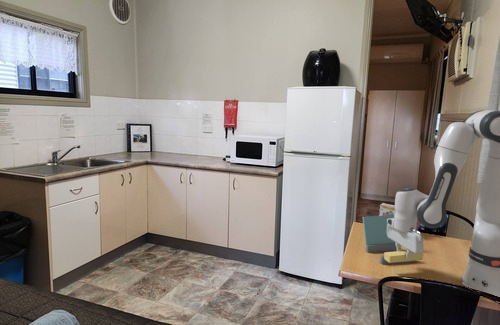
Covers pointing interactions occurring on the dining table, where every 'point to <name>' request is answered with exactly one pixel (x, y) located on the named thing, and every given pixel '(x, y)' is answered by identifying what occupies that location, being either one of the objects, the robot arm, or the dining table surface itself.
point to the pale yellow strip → (401, 256)
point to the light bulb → (417, 225)
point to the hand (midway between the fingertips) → (403, 254)
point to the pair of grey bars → (383, 248)
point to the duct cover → (376, 229)
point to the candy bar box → (386, 209)
